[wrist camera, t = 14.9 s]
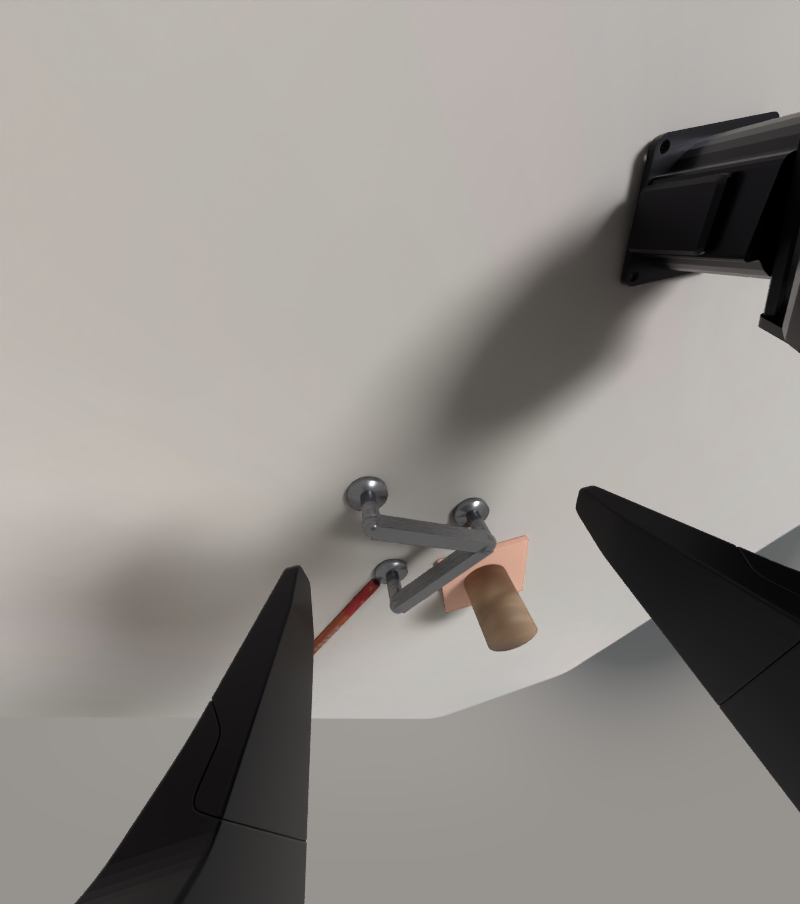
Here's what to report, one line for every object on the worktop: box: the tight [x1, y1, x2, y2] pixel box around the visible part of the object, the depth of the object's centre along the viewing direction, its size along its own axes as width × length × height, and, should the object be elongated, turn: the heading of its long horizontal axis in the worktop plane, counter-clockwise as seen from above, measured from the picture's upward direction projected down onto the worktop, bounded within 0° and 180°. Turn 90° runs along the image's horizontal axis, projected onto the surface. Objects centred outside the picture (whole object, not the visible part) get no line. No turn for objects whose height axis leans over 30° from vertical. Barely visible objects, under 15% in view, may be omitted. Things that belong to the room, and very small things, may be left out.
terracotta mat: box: [438, 536, 529, 613], centre depth 33 cm, size 9×9×1 cm
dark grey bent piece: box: [347, 477, 496, 614], centre depth 26 cm, size 11×13×4 cm
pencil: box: [314, 579, 380, 654], centre depth 34 cm, size 19×1×1 cm, turn 144°
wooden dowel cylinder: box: [464, 564, 537, 651], centre depth 30 cm, size 5×5×6 cm
